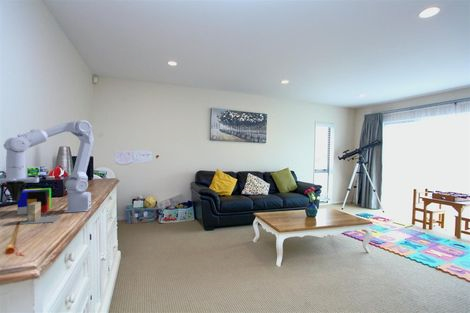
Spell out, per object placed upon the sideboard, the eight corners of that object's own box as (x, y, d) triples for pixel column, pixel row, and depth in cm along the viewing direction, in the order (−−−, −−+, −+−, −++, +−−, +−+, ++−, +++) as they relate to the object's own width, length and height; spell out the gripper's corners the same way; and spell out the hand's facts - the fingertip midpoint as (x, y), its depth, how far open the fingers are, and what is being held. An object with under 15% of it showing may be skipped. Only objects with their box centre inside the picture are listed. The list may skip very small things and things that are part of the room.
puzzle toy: (17, 214, 103) (17, 192, 103) (25, 209, 112) (25, 189, 112) (45, 212, 108) (45, 191, 108) (50, 207, 117) (51, 188, 117)
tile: (40, 218, 98) (40, 201, 97) (34, 221, 93) (35, 204, 93) (33, 218, 97) (33, 202, 97) (27, 222, 92) (27, 204, 92)
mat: (60, 216, 101) (61, 216, 101) (53, 222, 93) (53, 221, 93) (30, 218, 98) (30, 217, 98) (19, 224, 90) (19, 223, 90)
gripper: (-15, 167, 86) (-15, 203, 86) (33, 167, 91) (33, 201, 91) (-3, 166, 93) (-3, 199, 93) (41, 166, 98) (41, 198, 98)
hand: (15, 200), depth 93 cm, fingers closed
